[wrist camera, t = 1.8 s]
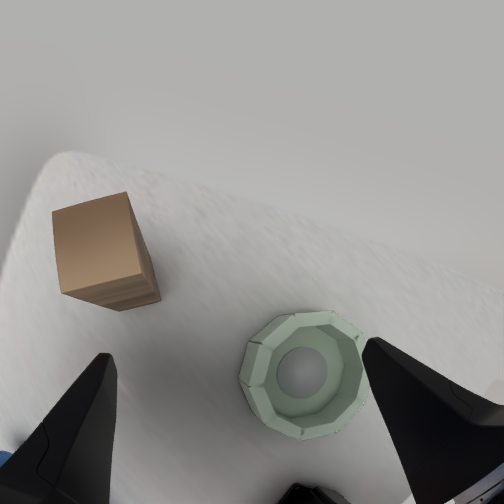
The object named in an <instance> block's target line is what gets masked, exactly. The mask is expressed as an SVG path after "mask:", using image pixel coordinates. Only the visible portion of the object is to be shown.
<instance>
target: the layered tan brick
mask: <svg viewBox="0 0 504 504" xmlns="http://www.w3.org/2000/svg"><path fill="white" fill-rule="evenodd" d="M52 221H53V235H54V246H55V255H56V263H57V271H58V278H59V284H60V290H61V293H62V294H65V295H68V296H71V297H74V298H77V299H80V300H83V301H86V302H89V303H92V304H96V305H99V306H102V307H106V308H109V309H112V310H116V311H123V310H127V309H131V308H135V307H139V306H143V305H148V304H152V303H156V302H160V301H161V299H160V295H159V291H158V287H157V283H156V279H155V275H154V271H153V266H152V262H151V258H150V255H149V253H148V250H147V247H146V245H145V242H144V240H143V237H142V234H141V232H140V229H139V226H138V223H137V221H136V218H135V215H134V212H133V209H132V206H131V203H130V200H129V197H128V194H127V191H126V192H122V193H118V194H114V195H110V196H106V197H102V198H99V199H95V200H91V201H87V202H84V203H80V204H77V205H73V206H70V207H66V208H63V209H60V210H56V211H53V212H52Z"/></svg>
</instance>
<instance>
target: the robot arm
mask: <svg viewBox="0 0 504 504" xmlns="http://www.w3.org/2000/svg"><path fill="white" fill-rule="evenodd" d="M361 357H362V362H363V365H364V368H365V371H366V374H367V377H368V381H369V384H370V387H371V390H372V393H373V395H374V398H375V400H376V402H377V405H378V407H379V409H380V412H381V414H382V416H383V419H384V421H385V424H386V426H387V428H388V431H389V433H390V436H391V438H392V441H393V443H394V446H395V448H396V451H397V453H398V456H399V459H400V461H401V464H402V466H403V469H404V472H405V474H406V477H407V480H408V483H409V485H410V488H411V491H412V494H413V496H414V499H415V502H416V504H444V503H446V502H448V501H450V500H451V499H454V501H455V504H504V405H498V404H496V403H493V402H491V401H489V400H487V399H485V398H483V397H481V396H479V395H477V394H474V393H473V392H471V391H469V390H467V389H465V388H463V387H461V386H459V385H458V384H456V383H454V382H453V381H451V380H448V378H446V377H444V376H443V375H441V374H439V373H438V372H436V371H434V370H433V369H431V368H429V367H428V366H426V365H424V364H423V363H421V362H419V361H418V360H416V359H414V358H413V357H411V356H409V355H408V354H406V353H405V352H403V351H401V350H400V349H398V348H396V347H395V346H393V345H391V344H390V343H388V342H386V341H385V340H383V339H381V338H380V337H374V338H370V339H368V341H367V343H366V345H365V347H364V350H363V352H362V356H361ZM116 408H117V369H116V366H115V363H114V359H113V356H112V355H111V354H110V353H99V354H98V355H97V356H96V357H95V358H94V360H93V361H92V362H91V363H90V364H89V365H88V366H87V368H86V369H85V370H84V371H83V372H82V373H81V375H80V376H79V377H78V378H77V379H76V381H75V382H74V383H73V384H72V385H71V386H70V388H69V389H68V390H67V391H66V392H65V394H64V395H63V396H62V397H61V398H60V400H59V401H58V402H57V403H56V405H55V406H54V407H53V408H52V409H51V411H50V412H49V413H48V414H47V416H46V417H45V418H44V419H43V421H42V422H43V423H42V422H41V423H40V424H39V425H38V427H37V428H36V429H35V430H34V432H33V433H32V434H31V435H30V436H29V438H28V439H27V440H26V441H25V442H24V443H23V444H22V445H21V446H20V447H19V448H18V449H17V451H16V452H15V453H14V454H13V455H12V456H11V457H10V458H9V459H8V460H7V461H6V462H5V463H4V464H3V465H2V466H1V467H0V504H109V497H110V477H111V463H112V451H113V441H114V432H115V424H116ZM297 487H299V488H298V489H295V488H297ZM278 504H351V503H349V502H348V501H347V500H346V499H344V497H343V496H341V495H339V494H338V493H337V492H336V491H333V490H329V489H326V488H322V487H319V486H317V487H314V488H313V487H309V486H306V485H303V484H300V483H295V484H293V485H292V486H291V488H290V489H289V490H288V492H287V493H286V494H285V495H284V497H283V498H282V499H281V500H280V502H279V503H278Z"/></svg>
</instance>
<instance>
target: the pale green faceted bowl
mask: <svg viewBox="0 0 504 504" xmlns="http://www.w3.org/2000/svg"><path fill="white" fill-rule="evenodd" d="M361 331H362V330H360V329H359V328H357V327H356V326H354V325H353V324H352V323H350V322H349V321H347V320H346V319H344V318H343V317H342V316H340V315H339V314H337V313H336V312H334V311H321V312H309V313H295V314H288V315H282V316H278V317H276V318H275V319H274V320H273V321H272V322H270V323H269V324H268V325H267V326H266V327H264V328H263V329H262V330H261V331H260V332H259V333H257V334H256V335H255V336H254V337H253V338H251V339H250V342H248V344H247V348H246V352H245V356H244V360H243V363H242V367H241V371H240V375H239V378H240V380H239V382H240V384H241V386H242V389H243V391H244V393H245V396H246V398H247V401H248V403H249V405H250V408H251V410H252V412H253V413H254V414H255V415H256V416H257V417H258V418H259V419H260V420H261V421H262V422H263V423H264V424H265V425H266V426H268V427H270V428H272V429H274V430H276V431H278V432H280V433H282V434H284V435H287V436H289V437H291V438H293V439H296V440H298V441H299V440H300V441H303V440H308V439H312V438H316V437H321V436H325V435H329V434H332V433H336V430H337V431H339V430H340V429H341V428H342V427H343V426H344V425H345V424H346V423H347V422H348V421H349V420H350V419H351V418H352V417H353V416H354V415H355V414H356V413H357V412H358V411H359V409H360V408H361V407H362V406H363V405H364V404H363V402H364V403H365V401H366V397H367V394H368V390H369V386H370V384H369V381H368V377H367V374H366V371H365V368H364V365H363V362H362V357H361V356H362V352H363V350H364V347H365V345H366V340H365V337H364V334H363V332H361Z"/></svg>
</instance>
